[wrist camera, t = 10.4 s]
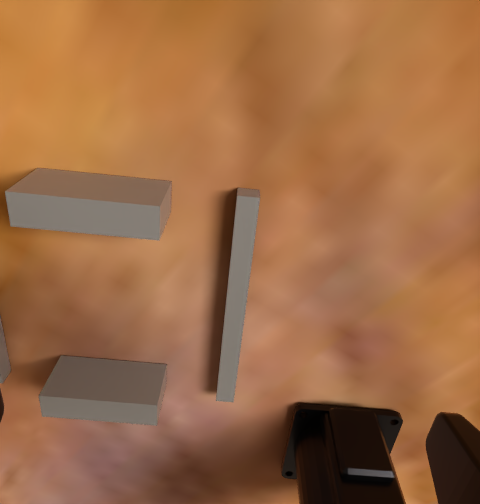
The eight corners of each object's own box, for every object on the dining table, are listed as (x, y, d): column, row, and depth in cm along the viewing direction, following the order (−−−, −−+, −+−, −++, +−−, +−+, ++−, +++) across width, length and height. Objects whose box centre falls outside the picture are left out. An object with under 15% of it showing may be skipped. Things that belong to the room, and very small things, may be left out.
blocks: (233, 389, 26) (232, 431, 23) (-7, 369, 25) (-36, 410, 23) (259, 189, 20) (261, 216, 17) (-54, 158, 19) (-101, 181, 17)
